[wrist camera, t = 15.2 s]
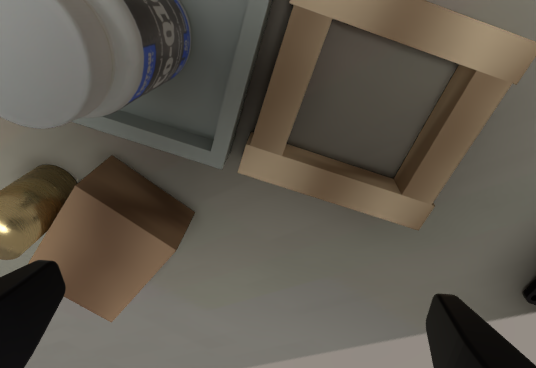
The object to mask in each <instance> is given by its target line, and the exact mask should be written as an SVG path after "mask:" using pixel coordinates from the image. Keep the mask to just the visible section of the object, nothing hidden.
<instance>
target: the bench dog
mask: <svg viewBox="0 0 536 368" xmlns="http://www.w3.org/2000/svg"><path fill="white" fill-rule="evenodd" d="M76 184H77V182H76V181H75V179H74V178H73V177H72V176H71V175H70V174H69V173H68V172H66V171H65V170H63V169H61V168H59V167H56V166H53V165H41V166H38V167H36V168H35V169H33V170H32V171H30V172H29V173H27V174H25V175H24V176H22V177H21V178H19V179H18V180H16V181H14V182H13V183H11V184H10V185H8V186H7V187H5V188H3V189H2V190H0V259H2V260H11V259H15V258H17V257H19V256H20V255H22V254H23V253H24V252H25V251H26V250H27V249H28V248H29V247H30V246H31V245H32V244H34V243H35V242H36V241H37V240H38V239H39V238H40V237H41V236H42V235H43V234H44V233H46V232H47V231H48V230H49V228H50V227H51V225H52V223H53V222H54V220H55V218H56V217H57V215H58V213H59V212H60V210H61V208H62V207H63V205H64V203H65V202H66V200H67V198H68V197H69V195H70V193H71V192H72V190H73V188H74V187H75V185H76Z"/></svg>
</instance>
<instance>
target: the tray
mask: <svg viewBox="0 0 536 368" xmlns="http://www.w3.org/2000/svg"><path fill="white" fill-rule="evenodd" d="M179 1H180V3H181V4H182V6H183V7H184V9H185V11H186V14H187V16H188V20H189V23H190V29H191V50H190V54H189V57H188V60H187V62H186V64H185V66H184V67H183V68H182V70H181V71H180V72H179V73H178V74H177V75H176V76H175V77H174V78H172V79H171V80H169V81H167V82H166V83H164V84H162V85H160V86H159V87H157V88H155V89H153V90H151V91H150V92H149V93H147V94H145V95H143V96H141V97H140V98H138V99H136V100H134V101H133V102H131V103H130V104H128V105H126V106H125V107H123V108H122V109H120V110H118V111H117V112H114V113H111V114H108V115H105V116H101V117H96V118H78V119H76V120H73V121H71V122H74V123H77V124H80V125H83V126H87V127H90V128H93V129H96V130H99V131H102V132H105V133H108V134H112V135H115V136H118V137H121V138H124V139H127V140H130V141H134V142H137V143H140V144H143V145H146V146H149V147H152V148H156V149H159V150H162V151H165V152H168V153H171V154H174V155H177V156H181V157H184V158H187V159H190V160H193V161H196V162H199V163H203V164H206V165H209V166H212V167H215V168H218V169H221V170H222V169H223V167H224V165H225V163H226V160H227V158H228V156H229V154H230V150H231V147H232V143H233V140H234V136H235V132H236V129H237V125H238V122H239V118H240V115H241V111H242V108H243V104H244V101H245V97H246V93H247V90H248V86H249V83H250V79H251V76H252V72H253V69H254V65H255V62H256V58H257V55H258V51H259V47H260V44H261V40H262V37H263V33H264V30H265V26H266V23H267V19H268V16H269V12H270V8H271V5H272V1H273V0H179Z"/></svg>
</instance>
